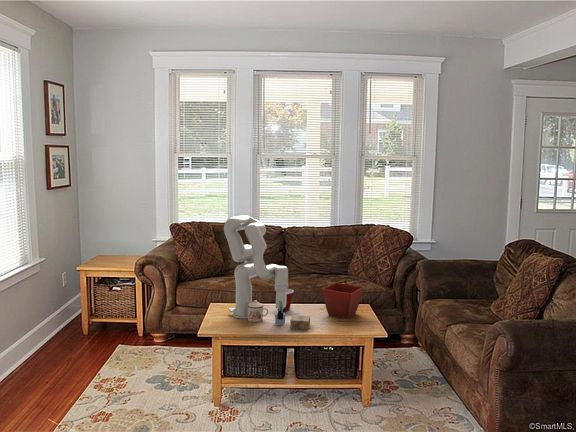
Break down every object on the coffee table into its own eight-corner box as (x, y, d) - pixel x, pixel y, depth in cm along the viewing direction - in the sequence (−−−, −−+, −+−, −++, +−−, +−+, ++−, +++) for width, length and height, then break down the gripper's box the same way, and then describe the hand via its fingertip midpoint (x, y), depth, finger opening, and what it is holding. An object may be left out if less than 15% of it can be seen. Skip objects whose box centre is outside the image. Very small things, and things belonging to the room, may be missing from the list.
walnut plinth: (290, 328, 300) (290, 320, 299) (292, 323, 310) (292, 314, 309) (307, 330, 298) (308, 321, 298) (309, 324, 308) (310, 316, 308)
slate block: (275, 324, 307) (275, 314, 306) (276, 322, 312) (276, 312, 311) (283, 325, 306) (284, 315, 305) (285, 322, 311) (285, 312, 310)
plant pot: (349, 321, 316) (350, 293, 314) (320, 315, 326) (321, 288, 324) (362, 313, 332) (363, 287, 330) (335, 308, 342) (335, 282, 340)
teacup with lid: (247, 322, 310) (247, 302, 309) (248, 317, 319) (248, 298, 318) (267, 322, 310) (268, 302, 309) (268, 317, 319) (268, 298, 318)
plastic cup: (275, 307, 342) (275, 288, 341) (292, 306, 343) (292, 288, 342) (276, 311, 331) (277, 292, 330) (294, 311, 333) (294, 292, 331)
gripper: (277, 284, 315) (277, 312, 317) (272, 291, 298) (272, 321, 300) (290, 284, 314) (290, 313, 316) (285, 291, 297) (285, 321, 299)
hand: (281, 317), depth 308 cm, fingers open, 9 cm apart
